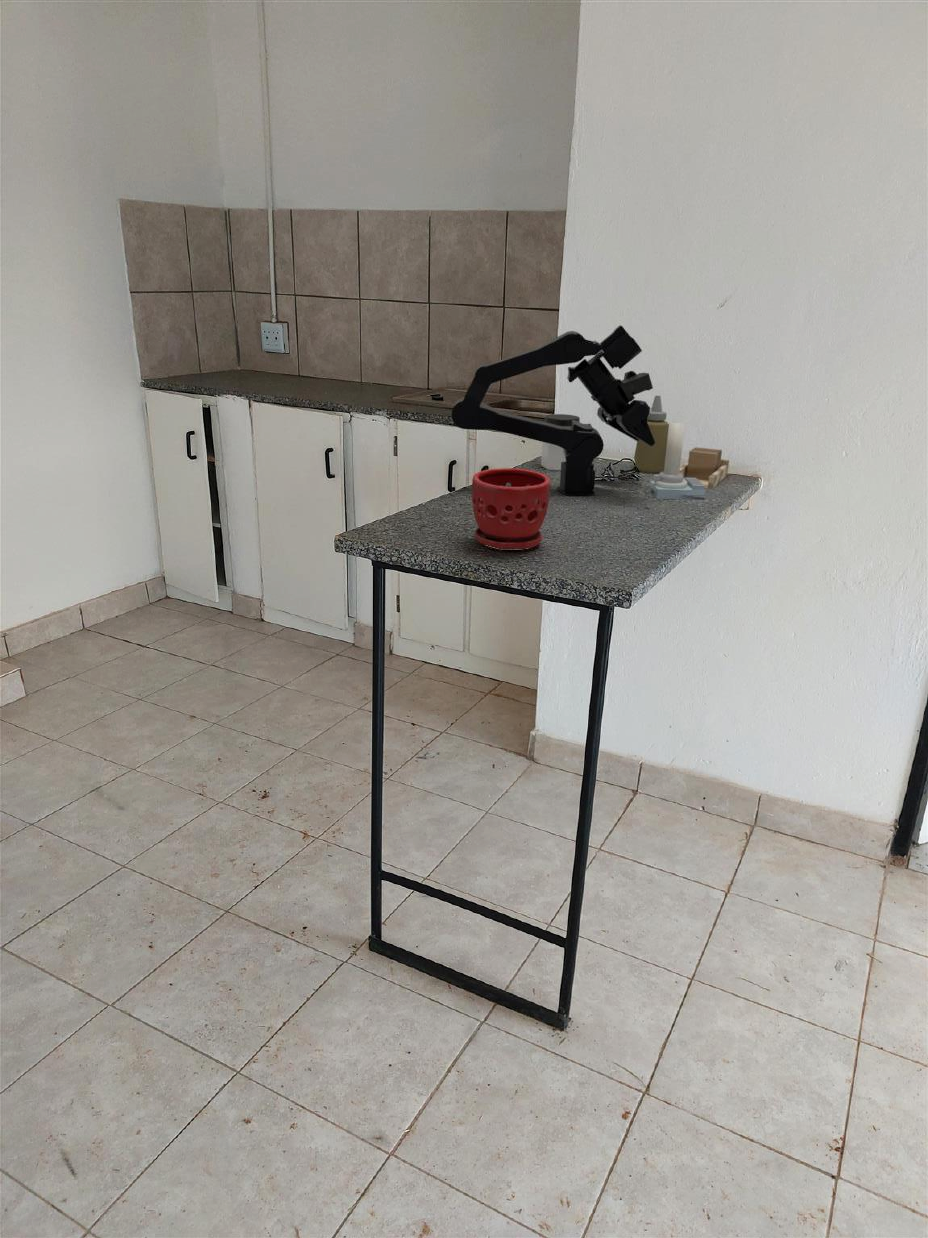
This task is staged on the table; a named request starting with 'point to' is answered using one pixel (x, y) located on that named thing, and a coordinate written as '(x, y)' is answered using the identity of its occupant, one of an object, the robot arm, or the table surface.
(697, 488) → the grey socket base
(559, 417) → the jar
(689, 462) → the box
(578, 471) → the robot arm
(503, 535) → the plant pot
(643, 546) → the table surface
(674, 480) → the crank handle
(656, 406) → the squeeze bottle
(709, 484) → the bay
